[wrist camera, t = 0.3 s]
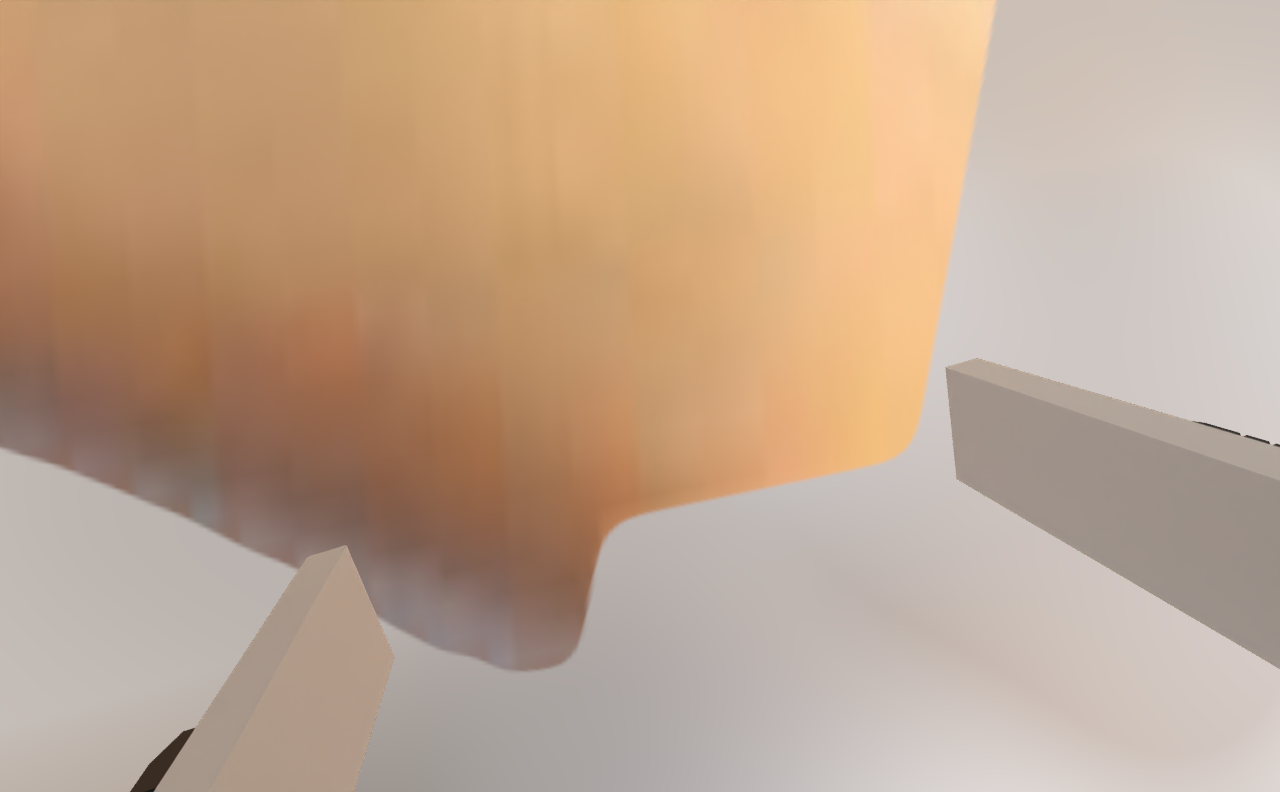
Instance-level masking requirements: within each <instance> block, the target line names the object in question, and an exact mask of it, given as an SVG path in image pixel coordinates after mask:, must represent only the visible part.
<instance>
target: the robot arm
mask: <svg viewBox="0 0 1280 792" xmlns="http://www.w3.org/2000/svg"><path fill="white" fill-rule="evenodd" d="M946 378H947V387H948V397H949V406H950V417H951V427H952V437H953V447H954V457H955V467H956V477H957V479H958V480H959V481H961V482H963V483H964V484H966V485H968V486H969V487H971V488H973V489H974V490H976V491H978V492H980V493H982V494H983V495H985V496H987V497H988V498H990V499H992V500H993V501H995V502H997V503H998V504H1000V505H1002V506H1003V507H1005V508H1007V509H1009V510H1010V511H1012V512H1014V513H1015V514H1017V515H1019V516H1021V517H1022V518H1024V519H1026V520H1027V521H1029V522H1031V523H1032V524H1034V525H1036V526H1038V527H1039V528H1041V529H1043V530H1044V531H1046V532H1048V533H1049V534H1051V535H1053V536H1054V537H1056V538H1058V539H1060V540H1061V541H1063V542H1065V543H1066V544H1068V545H1070V546H1071V547H1073V548H1075V549H1077V550H1078V551H1080V552H1082V553H1083V554H1085V555H1087V556H1089V557H1090V558H1092V559H1094V560H1095V561H1097V562H1099V563H1100V564H1102V565H1104V566H1106V567H1107V568H1109V569H1111V570H1112V571H1114V572H1116V573H1117V574H1119V575H1121V576H1123V577H1124V578H1126V579H1128V580H1129V581H1131V582H1133V583H1134V584H1136V585H1138V586H1140V587H1141V588H1143V589H1145V590H1146V591H1148V592H1150V593H1152V594H1153V595H1155V596H1157V597H1158V598H1160V599H1162V600H1163V601H1165V602H1167V603H1168V604H1170V605H1172V606H1174V607H1175V608H1177V609H1179V610H1180V611H1182V612H1184V613H1185V614H1187V615H1189V616H1191V617H1192V618H1194V619H1196V620H1197V621H1200V622H1201V623H1202V624H1205V625H1206V626H1208V627H1209V628H1211V629H1213V630H1215V631H1216V632H1218V633H1220V634H1221V635H1223V636H1225V637H1226V638H1228V639H1230V640H1231V641H1233V642H1235V643H1237V644H1238V645H1240V646H1242V647H1243V648H1245V649H1247V650H1248V651H1250V652H1252V653H1254V654H1255V655H1257V656H1259V657H1260V658H1262V659H1264V660H1265V661H1267V662H1269V663H1271V664H1272V665H1274V666H1276V667H1277V668H1279V669H1280V445H1279V444H1275V445H1271V444H1270V443H1269V441H1265V440H1262V439H1258V438H1255V437H1252V436H1248V435H1246V436H1241V435H1240V433H1238V432H1234V431H1231V430H1228V429H1224V428H1221V427H1217V426H1214V425H1210V424H1207V423H1202V422H1194V421H1189V420H1186V419H1182V418H1179V417H1175V416H1172V415H1168V414H1165V413H1162V412H1158V411H1155V410H1152V409H1148V408H1145V407H1141V406H1138V405H1135V404H1131V403H1127V402H1124V401H1121V400H1117V399H1114V398H1110V397H1107V396H1104V395H1101V394H1097V393H1094V392H1090V391H1087V390H1084V389H1080V388H1077V387H1073V386H1070V385H1066V384H1063V383H1060V382H1056V381H1053V380H1050V379H1046V378H1043V377H1039V376H1035V375H1033V374H1029V373H1026V372H1022V371H1019V370H1016V369H1012V368H1009V367H1005V366H1002V365H999V364H995V363H992V362H988V361H985V360H982V359H978V358H976V359H972V360H969V361H966V362H962V363H959V364H956V365H952V366H949V367H946ZM393 660H394V655H393V652H392V650H391V648H390V645H389V643H388V641H387V639H386V636H385V634H384V632H383V629H382V627H381V625H380V622H379V620H378V618H377V615H376V613H375V611H374V608H373V606H372V604H371V601H370V599H369V597H368V594H367V592H366V590H365V587H364V585H363V583H362V580H361V578H360V576H359V573H358V571H357V569H356V566H355V564H354V562H353V559H352V557H351V555H350V553H349V550H348V548H347V546H346V545H345V546H342V547H338V548H335V549H332V550H328V551H325V552H321V553H318V554H315V555H311V556H308V557H307V558H306V560H305V561H304V563H303V564H302V566H301V567H300V569H299V570H298V572H297V573H296V575H295V577H294V578H293V580H292V581H291V583H290V584H289V586H288V587H287V589H286V590H285V592H284V593H283V595H282V596H281V598H280V600H279V601H278V603H277V604H276V606H275V607H274V609H273V610H272V612H271V613H270V615H269V616H268V618H267V619H266V621H265V622H264V624H263V626H262V627H261V629H260V630H259V632H258V633H257V635H256V636H255V638H254V639H253V641H252V642H251V644H250V645H249V647H248V649H247V650H246V652H245V653H244V655H243V656H242V658H241V659H240V661H239V662H238V664H237V665H236V667H235V668H234V670H233V671H232V673H231V675H230V676H229V678H228V679H227V681H226V682H225V684H224V685H223V687H222V688H221V690H220V691H219V693H218V694H217V696H216V697H215V699H214V700H213V702H212V703H211V705H210V707H209V708H208V710H207V711H206V713H205V714H204V716H203V717H202V719H201V721H200V722H199V723H198V725H197V726H196V728H193V729H190V730H187V731H183V732H182V733H181V734H180V735H179V736H178V737H177V738H176V739H175V740H174V741H173V742H172V743H171V744H170V745H169V746H168V747H167V748H166V749H165V750H163V751H162V752H161V753H160V754H159V755H158V756H157V757H156V758H155V759H154V760H153V761H152V762H151V763H150V764H149V765H148V767H147V768H146V770H145V771H144V773H143V774H142V776H141V777H140V778H139V780H138V781H137V783H136V784H135V786H134V787H133V788H132V790H131V791H130V792H354V790H355V787H356V783H357V780H358V777H359V773H360V770H361V767H362V763H363V760H364V757H365V753H366V750H367V746H368V743H369V740H370V737H371V733H372V730H373V727H374V723H375V720H376V717H377V713H378V710H379V707H380V703H381V700H382V697H383V693H384V690H385V687H386V683H387V680H388V677H389V673H390V670H391V666H392V663H393Z"/></svg>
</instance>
